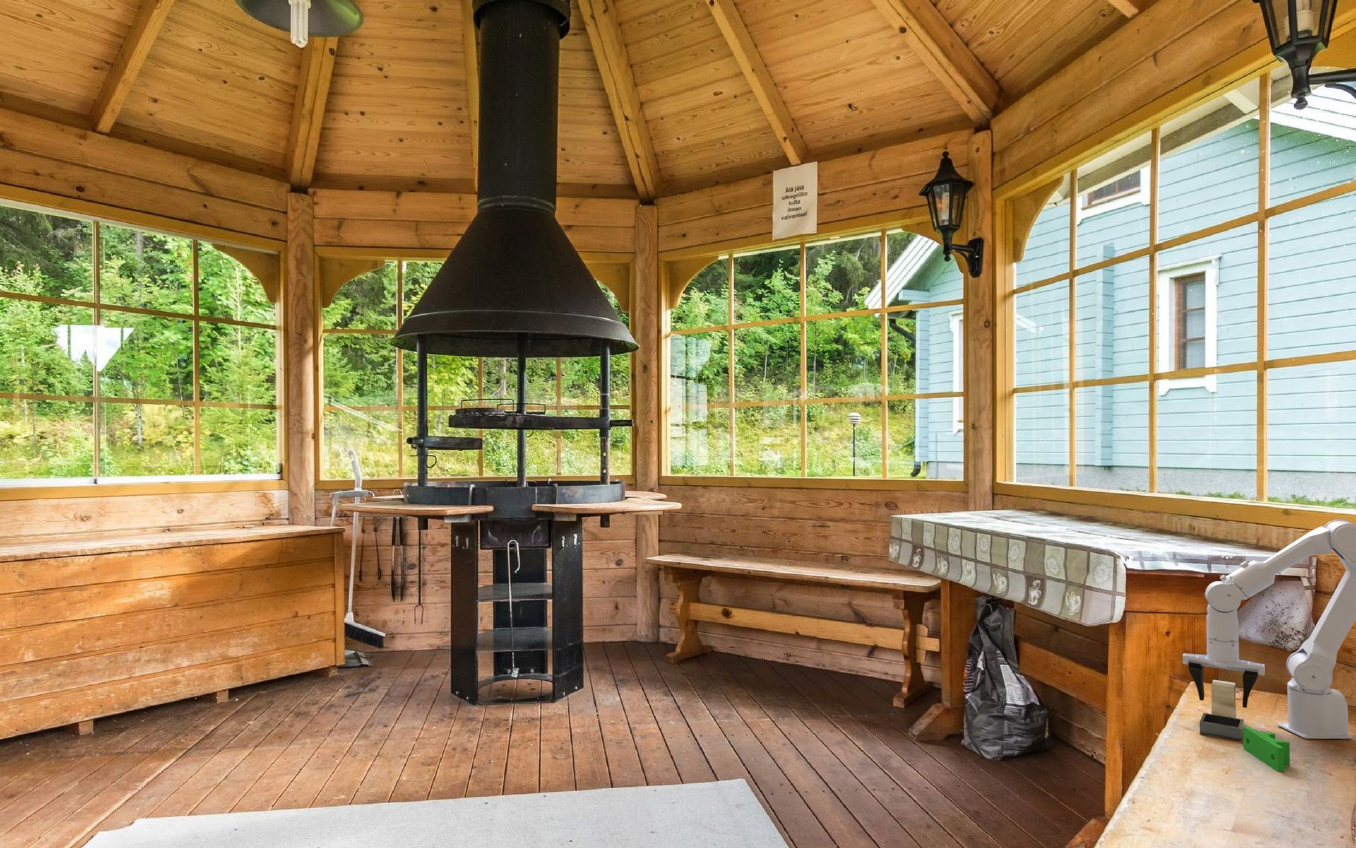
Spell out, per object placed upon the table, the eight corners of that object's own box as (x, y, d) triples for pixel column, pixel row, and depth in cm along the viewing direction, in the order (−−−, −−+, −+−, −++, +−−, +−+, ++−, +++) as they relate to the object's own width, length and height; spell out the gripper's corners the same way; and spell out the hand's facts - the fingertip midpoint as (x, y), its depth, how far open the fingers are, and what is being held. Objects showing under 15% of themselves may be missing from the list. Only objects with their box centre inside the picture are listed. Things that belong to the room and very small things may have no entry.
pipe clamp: (1300, 774, 149) (1299, 748, 149) (1277, 773, 149) (1277, 747, 149) (1264, 750, 160) (1263, 726, 160) (1243, 749, 160) (1243, 726, 160)
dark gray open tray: (1203, 724, 174) (1203, 712, 174) (1243, 731, 170) (1243, 719, 170) (1199, 734, 169) (1199, 721, 169) (1241, 741, 164) (1241, 728, 164)
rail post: (1213, 717, 179) (1213, 679, 179) (1236, 720, 176) (1235, 683, 177) (1211, 722, 176) (1211, 684, 176) (1234, 726, 173) (1233, 687, 173)
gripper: (1180, 637, 178) (1181, 700, 178) (1262, 648, 169) (1263, 714, 169) (1184, 631, 183) (1185, 692, 183) (1265, 641, 174) (1265, 706, 174)
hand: (1223, 703), depth 176 cm, fingers open, 7 cm apart
